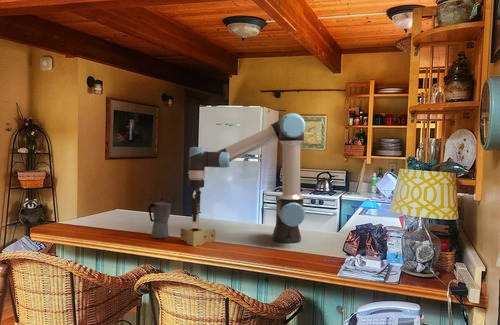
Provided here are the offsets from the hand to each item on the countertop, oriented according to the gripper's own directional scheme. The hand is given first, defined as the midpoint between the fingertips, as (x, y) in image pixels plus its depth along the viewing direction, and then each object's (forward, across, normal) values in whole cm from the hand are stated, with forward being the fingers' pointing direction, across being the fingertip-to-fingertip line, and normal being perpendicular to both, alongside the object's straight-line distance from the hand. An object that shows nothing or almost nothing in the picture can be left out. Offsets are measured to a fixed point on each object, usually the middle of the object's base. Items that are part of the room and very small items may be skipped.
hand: (195, 227), depth 195 cm
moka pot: (+9, -12, -20) cm, 25 cm away
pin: (+2, 0, 0) cm, 2 cm away
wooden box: (+8, -6, 0) cm, 10 cm away
